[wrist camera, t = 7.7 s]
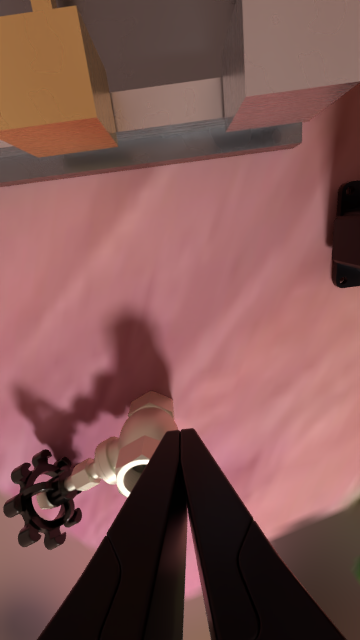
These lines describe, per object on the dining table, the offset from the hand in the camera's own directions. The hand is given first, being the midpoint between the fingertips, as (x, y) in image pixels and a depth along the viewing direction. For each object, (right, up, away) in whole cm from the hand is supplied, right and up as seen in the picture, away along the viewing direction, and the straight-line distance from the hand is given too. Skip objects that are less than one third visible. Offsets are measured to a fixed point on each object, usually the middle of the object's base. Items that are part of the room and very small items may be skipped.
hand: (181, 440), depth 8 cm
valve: (-5, -6, +15) cm, 17 cm away
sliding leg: (-6, +17, +5) cm, 19 cm away
